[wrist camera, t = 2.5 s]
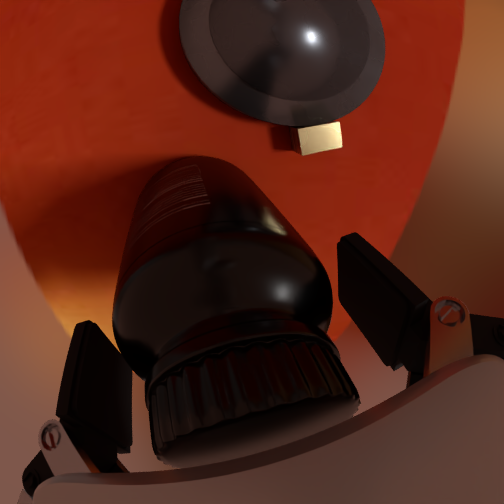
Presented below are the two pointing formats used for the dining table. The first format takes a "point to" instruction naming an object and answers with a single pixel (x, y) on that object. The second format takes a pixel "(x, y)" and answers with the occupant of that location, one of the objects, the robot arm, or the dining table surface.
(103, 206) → the dining table surface
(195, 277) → the supplement bottle
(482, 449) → the robot arm
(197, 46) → the base
